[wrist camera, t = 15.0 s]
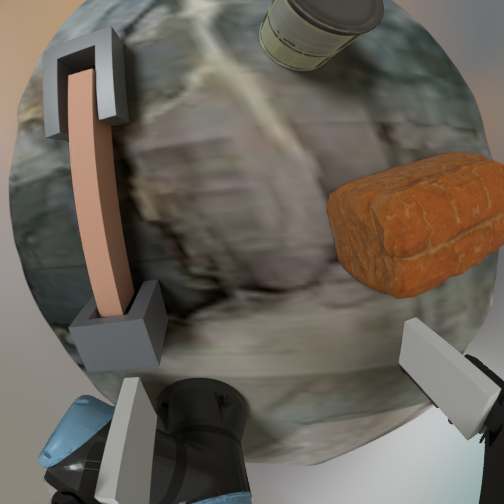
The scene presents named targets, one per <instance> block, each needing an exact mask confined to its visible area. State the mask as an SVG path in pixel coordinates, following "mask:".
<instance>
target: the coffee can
mask: <svg viewBox="0 0 504 504" xmlns="http://www.w3.org/2000/svg"><path fill="white" fill-rule="evenodd" d="M383 13H384V6H383V1H382V0H273V1H272V3H271V5H270V7H269V10H268V12H267V14H266V16H265V19H264V21H263V22H262V24H261V26H260V30H259V39H260V43H261V46H262V48H263V49H264V51H265V52H266V54H267V55H268V56H269V57H270V58H271V59H272V60H273V61H275V62H276V63H277V64H279V65H281V66H283V67H285V68H288V69H292V70H296V71H309V70H314V69H317V68H319V67H321V66H322V65H324V64H325V63H326V62H327V61H328V60H329V59H330V58H331V57H333V56H334V55H335V54H337V53H338V52H339V51H341V50H342V49H343V48H345V47H346V46H347V45H349V44H350V43H351V42H353V41H354V40H356V39H357V38H358V37H360V36H361V35H363V34H364V33H367V32H369V31H371V30H372V29H374V28H375V27H376V26H377V25H378V24H379V23H380V22H381V20H382V17H383Z"/></svg>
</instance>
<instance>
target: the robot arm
mask: <svg viewBox="0 0 504 504" xmlns="http://www.w3.org/2000/svg"><path fill="white" fill-rule="evenodd" d="M399 364H400V365H401V366H402V367H403V368H404V369H405V370H406V371H407V373H408V374H409V375H410V376H411V377H412V378H413V379H414V380H415V381H416V382H417V384H418V385H419V386H420V387H421V388H422V389H423V390H424V391H425V392H426V394H427V395H428V396H429V397H430V398H431V399H432V400H433V401H434V403H435V404H436V405H437V406H438V407H439V408H440V409H441V410H442V412H443V413H444V414H445V415H446V416H447V417H448V418H449V420H450V421H451V422H452V423H453V424H454V425H455V426H456V428H457V429H458V430H459V431H460V432H461V433H462V435H463V436H464V437H465V438H466V439H467V440H469V439H471V438H472V437H473V436H475V435H476V434H478V433H479V432H480V430H481V428H482V427H483V425H484V424H485V425H486V426H487V429H486V430H485V432H484V434H483V436H482V437H481V439H480V442H479V443H482V441H483V439H484V438H485V442H484V443H485V454H484V467H483V478H482V486H481V494H480V500H479V504H504V381H503V380H502V379H501V378H500V377H498V376H497V375H496V374H495V373H494V372H493V371H491V370H489V368H488V367H487V366H485V365H483V363H482V362H481V361H479V360H478V359H477V358H475V357H473V356H470V355H468V354H467V355H465V356H463V355H462V354H460V353H459V352H458V351H457V350H456V349H455V348H453V347H452V346H451V345H450V344H448V343H447V342H446V341H445V340H444V339H442V338H441V337H440V336H439V335H437V334H436V333H435V332H434V331H433V330H431V329H430V328H429V327H428V326H426V325H425V324H424V323H423V322H421V321H420V320H419V319H418V318H416V317H415V318H413V319H410V320H407V321H405V323H404V331H403V338H402V345H401V352H400V358H399ZM246 419H247V413H246V407H245V403H244V400H243V398H242V396H241V395H240V394H239V393H238V392H237V391H236V390H235V389H234V388H232V387H231V386H229V385H227V384H225V383H223V382H220V381H216V380H212V379H205V378H192V379H186V380H181V381H178V382H176V383H173V384H171V385H170V386H168V387H167V388H165V389H164V390H163V391H162V393H161V394H160V395H159V397H158V400H157V406H156V413H155V411H154V409H153V407H152V404H151V402H150V400H149V398H148V396H147V394H146V391H145V389H144V387H143V385H142V382H141V380H140V378H139V377H134V378H124V381H123V384H122V388H121V391H120V394H119V398H118V401H117V405H116V406H111V405H109V404H107V403H105V402H103V401H101V400H99V399H97V398H95V397H93V396H90V395H82V396H80V397H78V398H77V399H76V400H75V401H74V402H73V404H72V405H71V406H70V408H69V409H68V411H67V412H66V413H65V415H64V416H63V418H62V419H61V421H60V422H59V424H58V425H57V427H56V428H55V430H54V432H53V433H52V435H51V436H50V438H49V440H48V442H47V443H46V445H45V447H44V448H43V450H42V452H41V453H40V455H39V457H38V461H39V463H41V465H42V466H43V467H44V468H47V471H46V474H45V476H44V479H43V481H44V483H45V485H46V487H47V489H48V491H49V493H50V496H51V499H50V502H49V504H252V503H251V497H252V495H251V492H250V487H249V482H248V477H247V473H246V468H245V463H244V458H243V453H242V448H241V439H242V435H243V431H244V427H245V424H246ZM157 422H158V426H159V429H160V430H159V429H156V423H157Z"/></svg>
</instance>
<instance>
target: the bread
mask: <svg viewBox="0 0 504 504" xmlns="http://www.w3.org/2000/svg"><path fill="white" fill-rule="evenodd" d="M327 213H328V217H329V221H330V225H331V230H332V234H333V238H334V243H335V247H336V251H337V256H338V260H339V261H340V263H341V264H342V265H343V267H344V268H345V269H346V270H347V271H348V272H349V273H350V274H351V275H352V276H353V277H354V278H355V279H356V280H357V281H359V282H361V283H363V284H365V285H366V286H368V287H370V288H372V289H374V290H377V291H379V292H381V293H383V294H388V293H390V294H391V295H392V296H394V297H395V298H396V299H401V298H409V297H415V296H417V295H419V294H422V293H424V292H426V291H429V290H431V289H433V288H435V287H437V286H439V285H440V284H441V283H443V282H444V281H445V280H447V279H448V278H450V277H453V276H457V275H460V274H463V273H464V272H465V271H466V270H468V269H469V268H470V267H473V266H475V265H477V264H480V263H481V262H482V260H483V259H484V258H485V256H487V255H489V254H491V253H493V252H495V251H496V250H497V249H498V248H500V247H501V246H502V245H504V165H503V164H501V163H498V162H496V161H494V160H489V159H487V158H485V157H483V156H481V155H476V154H470V153H464V152H451V153H445V154H441V155H437V156H434V157H430V158H426V159H423V160H419V161H415V162H412V163H408V164H404V165H401V166H397V167H393V168H390V169H387V170H384V171H381V172H378V173H375V174H372V175H369V176H365V177H362V178H358V179H355V180H353V181H351V182H349V183H346V184H344V185H342V186H340V187H339V188H338V189H336V190H335V191H333V192H332V193H331V194H330V195H329V200H328V205H327Z"/></svg>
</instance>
